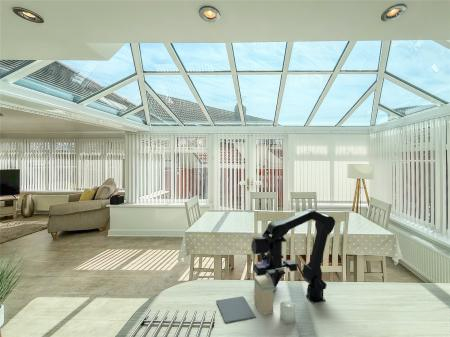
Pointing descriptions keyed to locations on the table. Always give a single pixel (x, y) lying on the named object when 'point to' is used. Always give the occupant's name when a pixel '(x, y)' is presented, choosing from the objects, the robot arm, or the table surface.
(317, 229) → the robot arm
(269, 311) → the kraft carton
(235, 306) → the mat
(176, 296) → the table surface
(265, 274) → the product box
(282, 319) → the white rounded cylinder
